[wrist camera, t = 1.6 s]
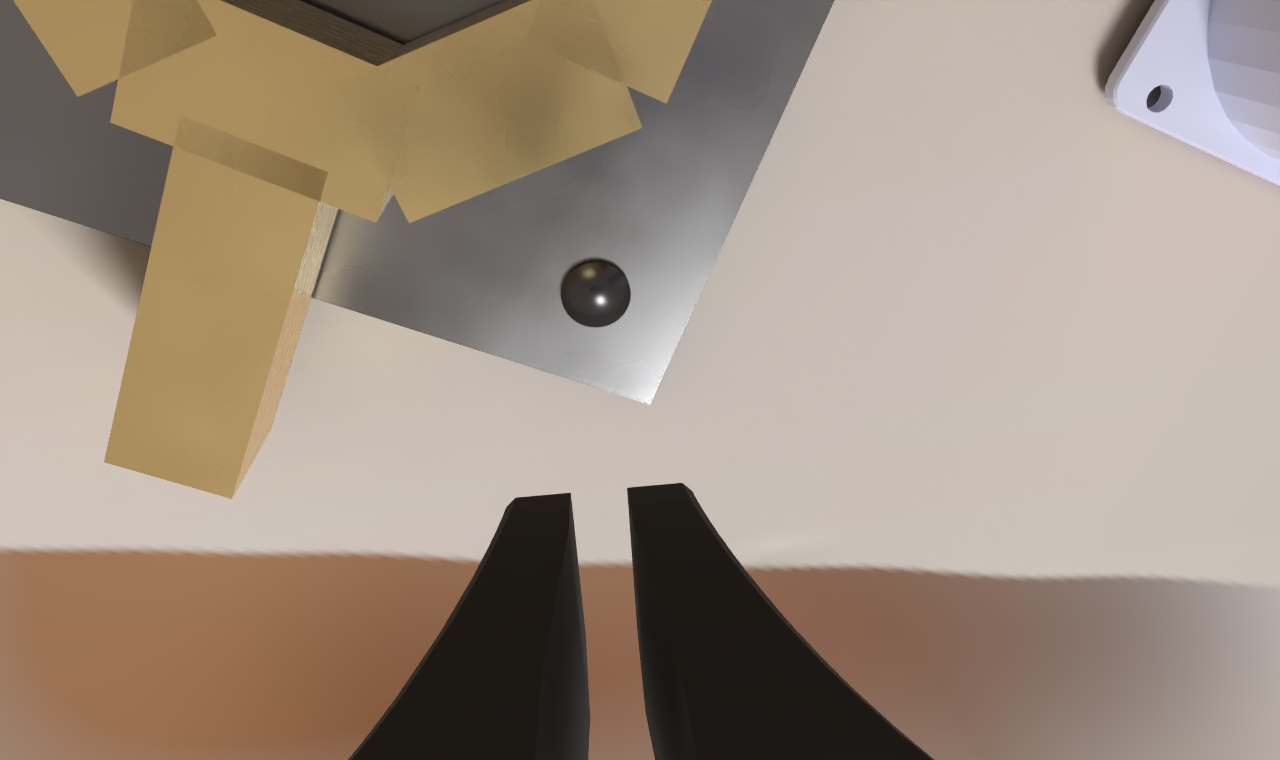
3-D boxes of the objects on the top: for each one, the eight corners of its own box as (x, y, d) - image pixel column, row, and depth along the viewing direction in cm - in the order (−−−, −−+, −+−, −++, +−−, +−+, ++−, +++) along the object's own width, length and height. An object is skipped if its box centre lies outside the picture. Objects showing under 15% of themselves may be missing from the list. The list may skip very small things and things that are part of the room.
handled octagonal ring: (51, -939, 10) (-84, -1170, 8) (862, -416, 13) (923, -482, 11) (-84, 319, 17) (-181, 380, 15) (474, 492, 20) (463, 565, 18)
